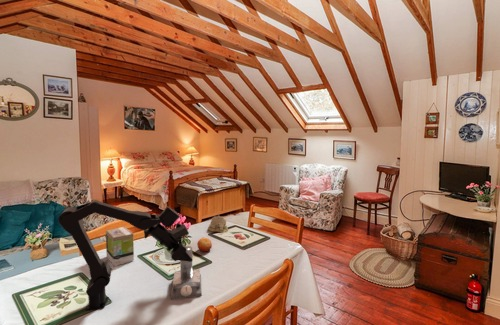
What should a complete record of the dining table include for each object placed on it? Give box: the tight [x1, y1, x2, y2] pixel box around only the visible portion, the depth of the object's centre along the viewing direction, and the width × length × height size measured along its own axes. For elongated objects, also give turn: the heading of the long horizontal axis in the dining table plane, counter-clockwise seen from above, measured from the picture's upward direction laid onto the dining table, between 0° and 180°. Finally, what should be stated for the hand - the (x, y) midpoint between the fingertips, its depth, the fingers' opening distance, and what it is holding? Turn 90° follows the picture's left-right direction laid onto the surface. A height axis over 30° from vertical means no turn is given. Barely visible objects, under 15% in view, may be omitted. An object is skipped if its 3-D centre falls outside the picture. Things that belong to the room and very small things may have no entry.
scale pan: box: [172, 268, 201, 290], centre depth 116 cm, size 11×11×2 cm
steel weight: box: [179, 245, 193, 280], centre depth 115 cm, size 5×5×12 cm
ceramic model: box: [207, 215, 229, 233], centre depth 186 cm, size 14×11×10 cm
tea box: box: [105, 226, 135, 267], centre depth 140 cm, size 15×10×15 cm, turn 41°
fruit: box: [197, 237, 213, 253], centre depth 152 cm, size 8×8×8 cm
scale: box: [170, 273, 202, 300], centre depth 114 cm, size 15×12×5 cm
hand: (189, 256), depth 116 cm, fingers open, 9 cm apart
